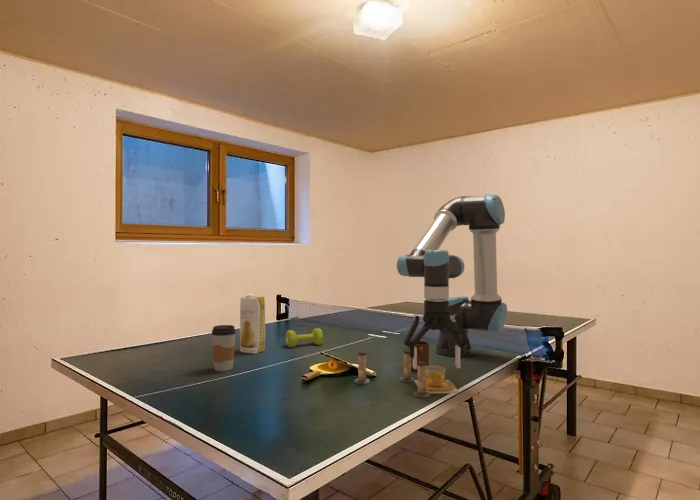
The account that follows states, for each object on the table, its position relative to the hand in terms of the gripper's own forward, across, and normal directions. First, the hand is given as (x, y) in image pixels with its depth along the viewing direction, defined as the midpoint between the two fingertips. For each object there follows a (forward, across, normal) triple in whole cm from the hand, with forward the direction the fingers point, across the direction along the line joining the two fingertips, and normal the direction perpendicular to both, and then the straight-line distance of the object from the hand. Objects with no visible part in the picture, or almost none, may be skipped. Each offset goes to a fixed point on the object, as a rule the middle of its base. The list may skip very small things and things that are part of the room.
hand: (436, 367), depth 133 cm
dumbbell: (+7, +44, -59) cm, 74 cm away
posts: (+6, +15, 0) cm, 16 cm away
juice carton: (+6, +65, -48) cm, 81 cm away
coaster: (+6, 0, 0) cm, 6 cm away
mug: (+6, +1, -19) cm, 20 cm away
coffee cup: (+6, +71, -22) cm, 74 cm away
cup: (+6, +1, +1) cm, 6 cm away
